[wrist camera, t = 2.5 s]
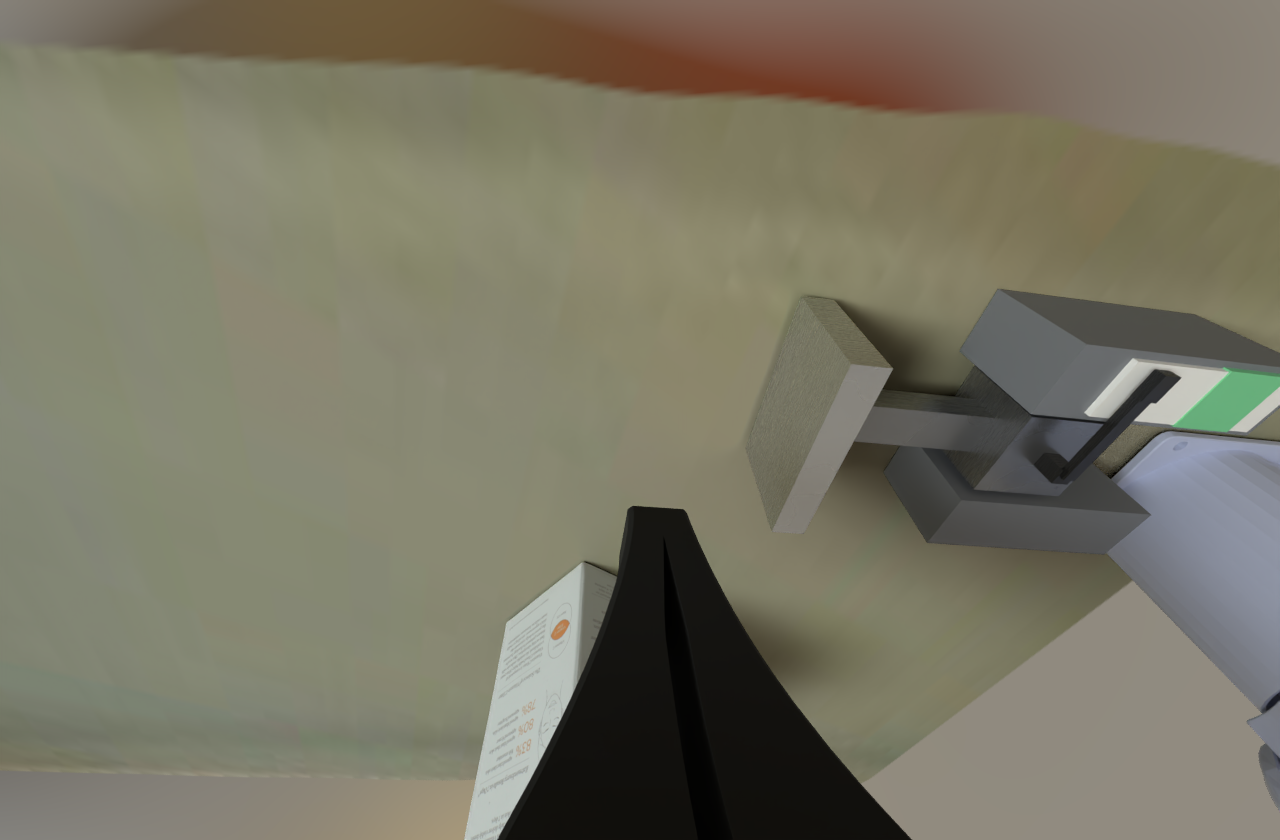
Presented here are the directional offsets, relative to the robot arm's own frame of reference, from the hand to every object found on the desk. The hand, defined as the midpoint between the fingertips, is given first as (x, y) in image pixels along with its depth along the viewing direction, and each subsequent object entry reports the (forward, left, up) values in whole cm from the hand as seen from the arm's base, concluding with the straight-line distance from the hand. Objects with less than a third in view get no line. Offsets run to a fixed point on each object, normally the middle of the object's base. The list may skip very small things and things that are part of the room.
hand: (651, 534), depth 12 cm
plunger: (-11, 0, -8) cm, 13 cm away
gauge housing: (-16, 0, -8) cm, 18 cm away
